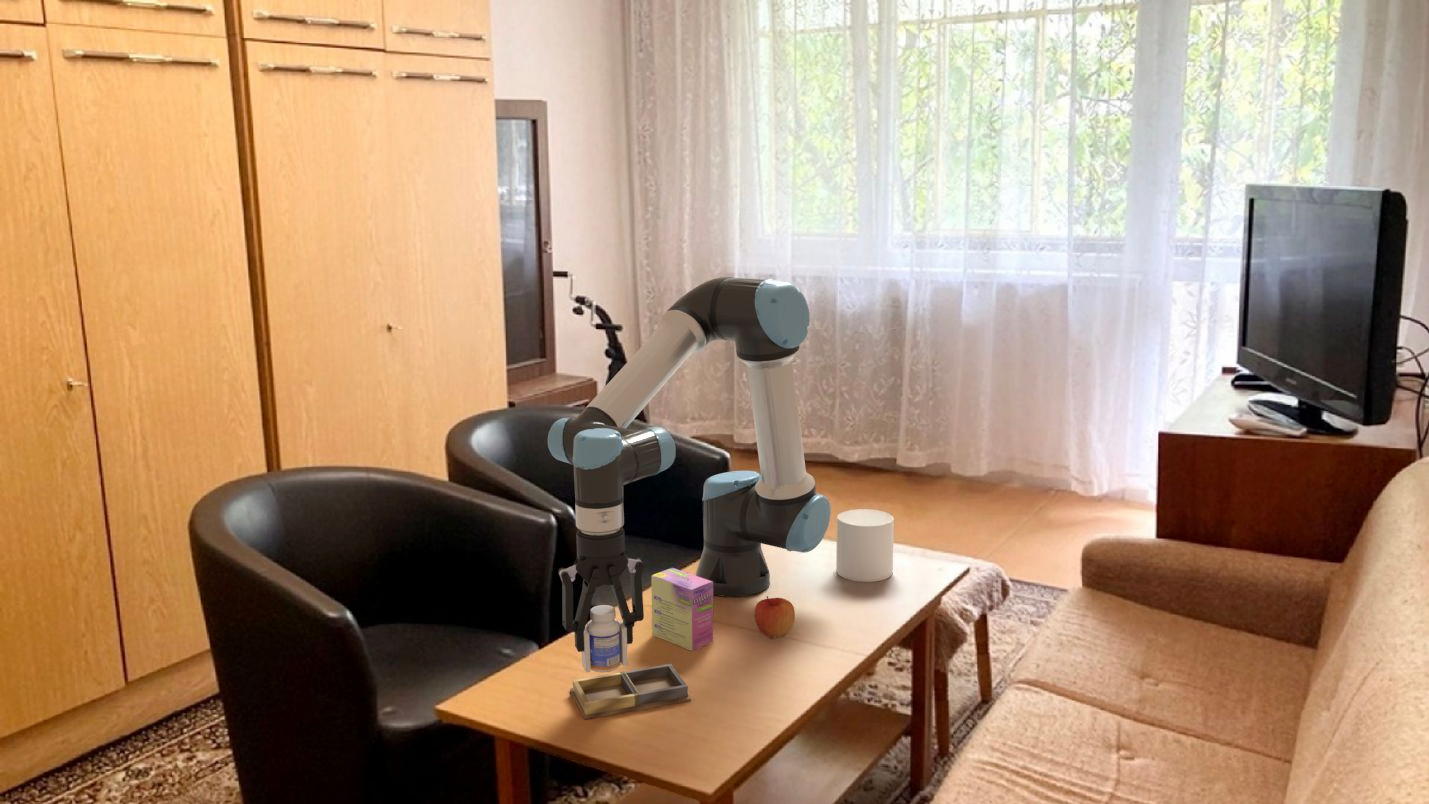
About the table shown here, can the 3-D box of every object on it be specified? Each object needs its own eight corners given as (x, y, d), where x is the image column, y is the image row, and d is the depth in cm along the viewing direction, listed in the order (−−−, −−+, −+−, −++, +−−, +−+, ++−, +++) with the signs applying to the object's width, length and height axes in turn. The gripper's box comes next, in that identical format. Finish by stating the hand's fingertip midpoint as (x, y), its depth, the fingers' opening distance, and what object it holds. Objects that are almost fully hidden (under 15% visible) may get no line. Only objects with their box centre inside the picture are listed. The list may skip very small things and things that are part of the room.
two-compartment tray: (584, 719, 179) (584, 706, 178) (570, 691, 188) (569, 678, 188) (691, 700, 184) (691, 688, 184) (671, 673, 194) (671, 661, 193)
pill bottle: (587, 659, 186) (585, 603, 184) (621, 657, 187) (619, 602, 185) (586, 674, 181) (584, 617, 179) (621, 672, 182) (619, 615, 179)
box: (714, 642, 206) (713, 580, 204) (692, 652, 202) (691, 589, 200) (673, 626, 213) (672, 566, 211) (651, 636, 209) (650, 575, 207)
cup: (896, 582, 233) (897, 526, 231) (839, 582, 234) (839, 526, 231) (888, 561, 245) (889, 508, 242) (834, 562, 245) (834, 508, 243)
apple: (802, 638, 207) (803, 597, 205) (769, 648, 203) (768, 605, 202) (780, 624, 213) (780, 584, 212) (747, 633, 210) (746, 592, 208)
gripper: (546, 542, 172) (553, 684, 177) (663, 528, 178) (666, 666, 183) (537, 527, 179) (543, 665, 184) (649, 514, 185) (653, 647, 190)
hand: (604, 665), depth 184 cm, fingers closed on pill bottle, 5 cm apart
